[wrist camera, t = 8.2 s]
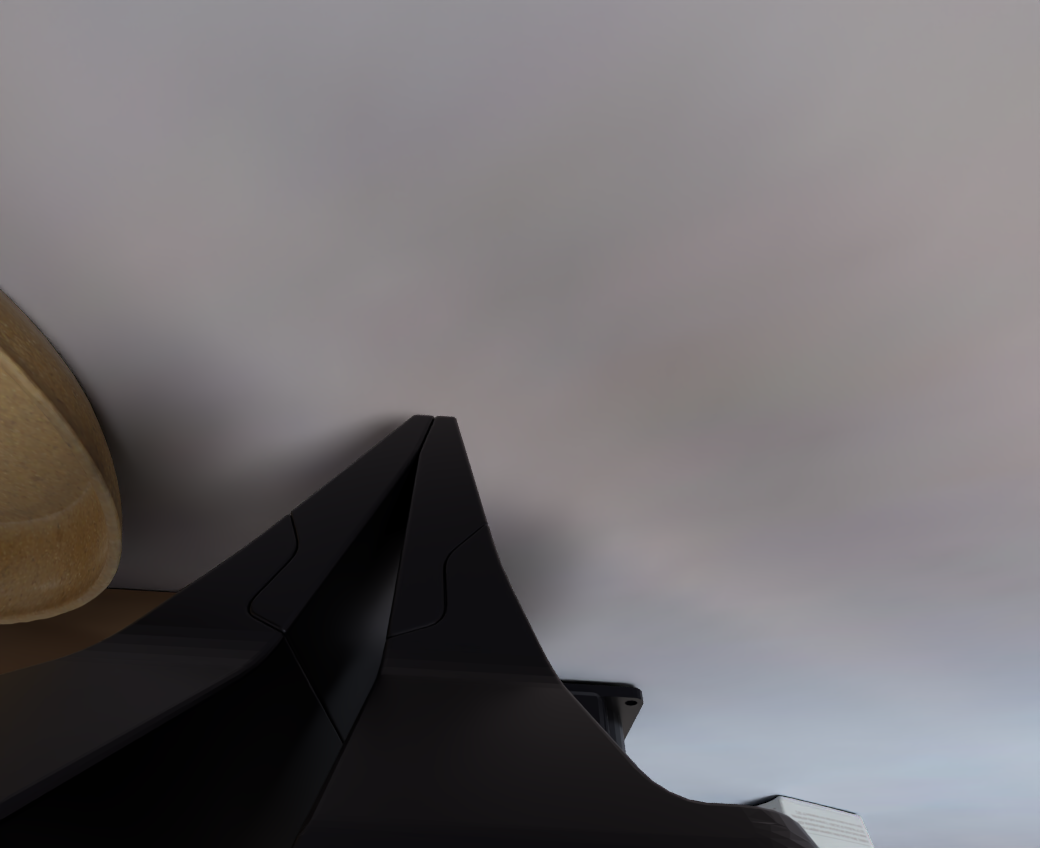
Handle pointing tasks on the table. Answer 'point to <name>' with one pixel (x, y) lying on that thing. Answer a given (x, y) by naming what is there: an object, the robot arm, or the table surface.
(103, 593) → the lane walls
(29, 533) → the plant saucer
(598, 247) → the table surface
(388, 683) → the robot arm
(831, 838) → the supplement box
